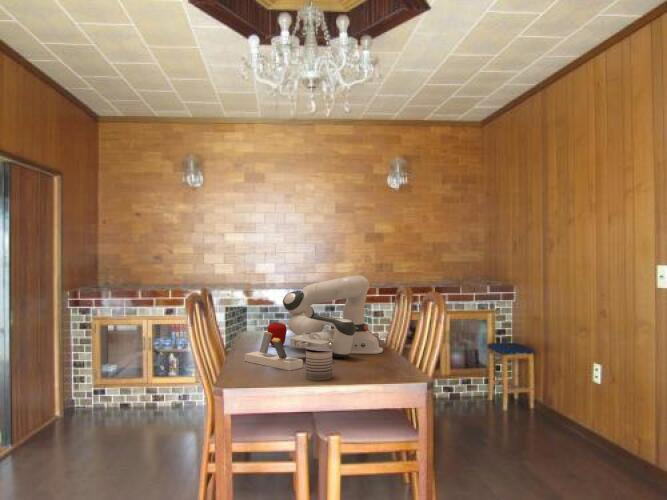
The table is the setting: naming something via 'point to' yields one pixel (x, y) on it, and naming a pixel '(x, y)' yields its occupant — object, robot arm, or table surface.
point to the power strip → (274, 361)
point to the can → (318, 363)
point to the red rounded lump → (277, 332)
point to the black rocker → (279, 348)
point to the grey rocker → (265, 342)
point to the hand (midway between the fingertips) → (298, 346)
